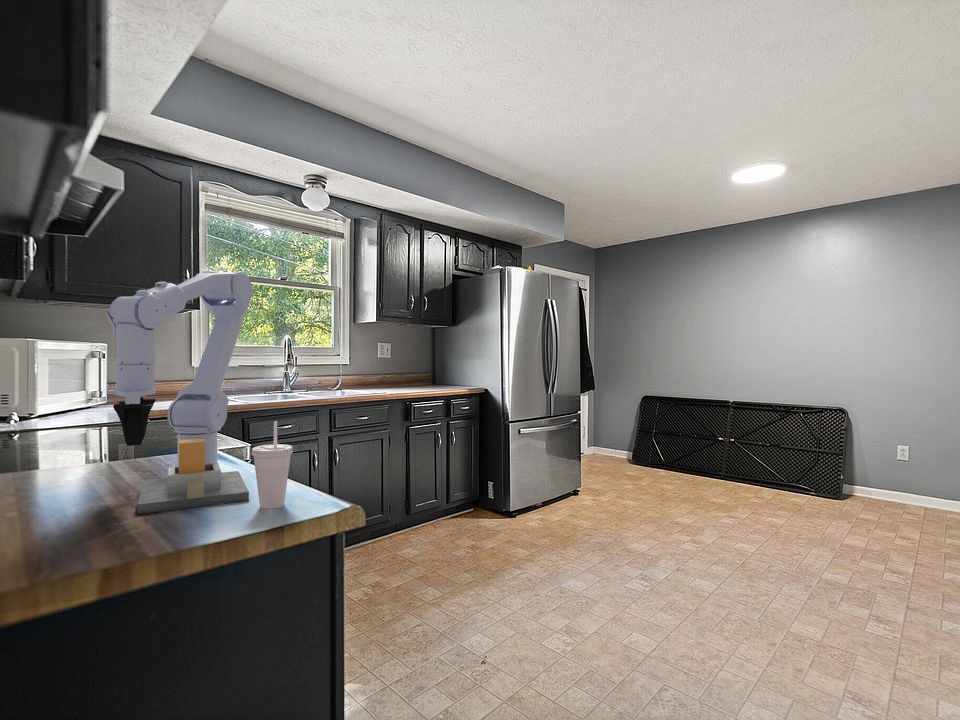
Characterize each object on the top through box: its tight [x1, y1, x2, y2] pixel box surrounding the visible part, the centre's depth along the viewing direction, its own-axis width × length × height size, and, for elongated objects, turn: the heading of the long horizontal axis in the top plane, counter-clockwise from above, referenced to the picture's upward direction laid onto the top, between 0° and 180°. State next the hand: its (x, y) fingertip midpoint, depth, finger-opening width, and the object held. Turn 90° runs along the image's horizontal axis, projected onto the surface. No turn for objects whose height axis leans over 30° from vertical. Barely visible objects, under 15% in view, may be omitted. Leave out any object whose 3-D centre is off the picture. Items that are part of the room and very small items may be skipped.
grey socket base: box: [136, 462, 250, 515], centre depth 94 cm, size 18×16×4 cm
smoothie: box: [251, 420, 294, 510], centre depth 87 cm, size 6×6×14 cm
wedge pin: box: [179, 439, 205, 474], centre depth 94 cm, size 4×4×8 cm
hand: (135, 441), depth 93 cm, fingers open, 7 cm apart
